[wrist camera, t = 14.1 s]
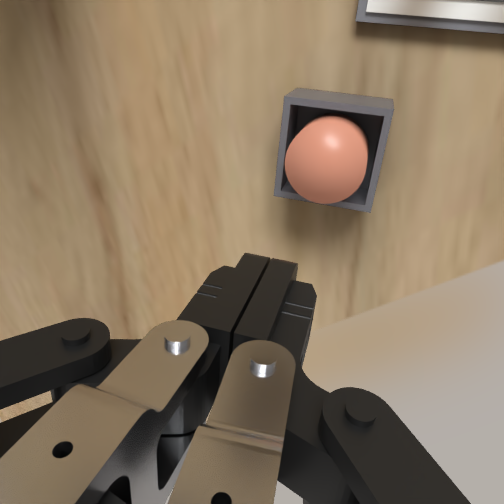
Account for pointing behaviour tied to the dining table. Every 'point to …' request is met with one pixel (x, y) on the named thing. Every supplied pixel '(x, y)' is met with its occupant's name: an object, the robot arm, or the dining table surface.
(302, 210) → the dining table surface
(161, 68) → the dining table surface
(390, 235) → the dining table surface
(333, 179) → the button
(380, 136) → the button housing
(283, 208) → the dining table surface
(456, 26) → the picture board
